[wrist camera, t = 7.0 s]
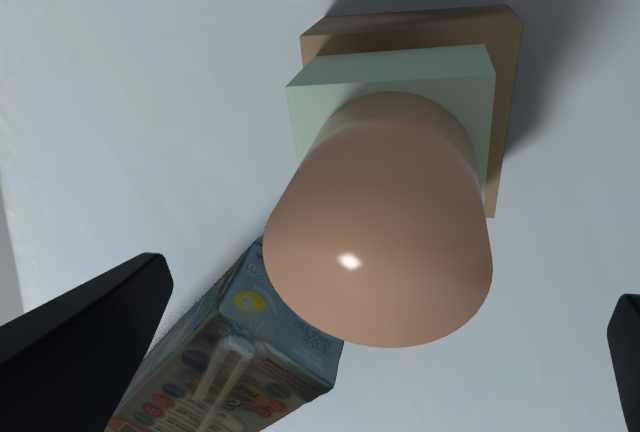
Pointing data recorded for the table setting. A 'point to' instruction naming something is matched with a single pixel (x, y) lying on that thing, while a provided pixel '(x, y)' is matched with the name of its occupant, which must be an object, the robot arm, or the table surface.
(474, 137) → the top block
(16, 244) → the table surface
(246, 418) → the beverage carton
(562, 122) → the table surface
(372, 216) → the pink domed cylinder
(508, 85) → the base block
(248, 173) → the table surface
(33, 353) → the robot arm
